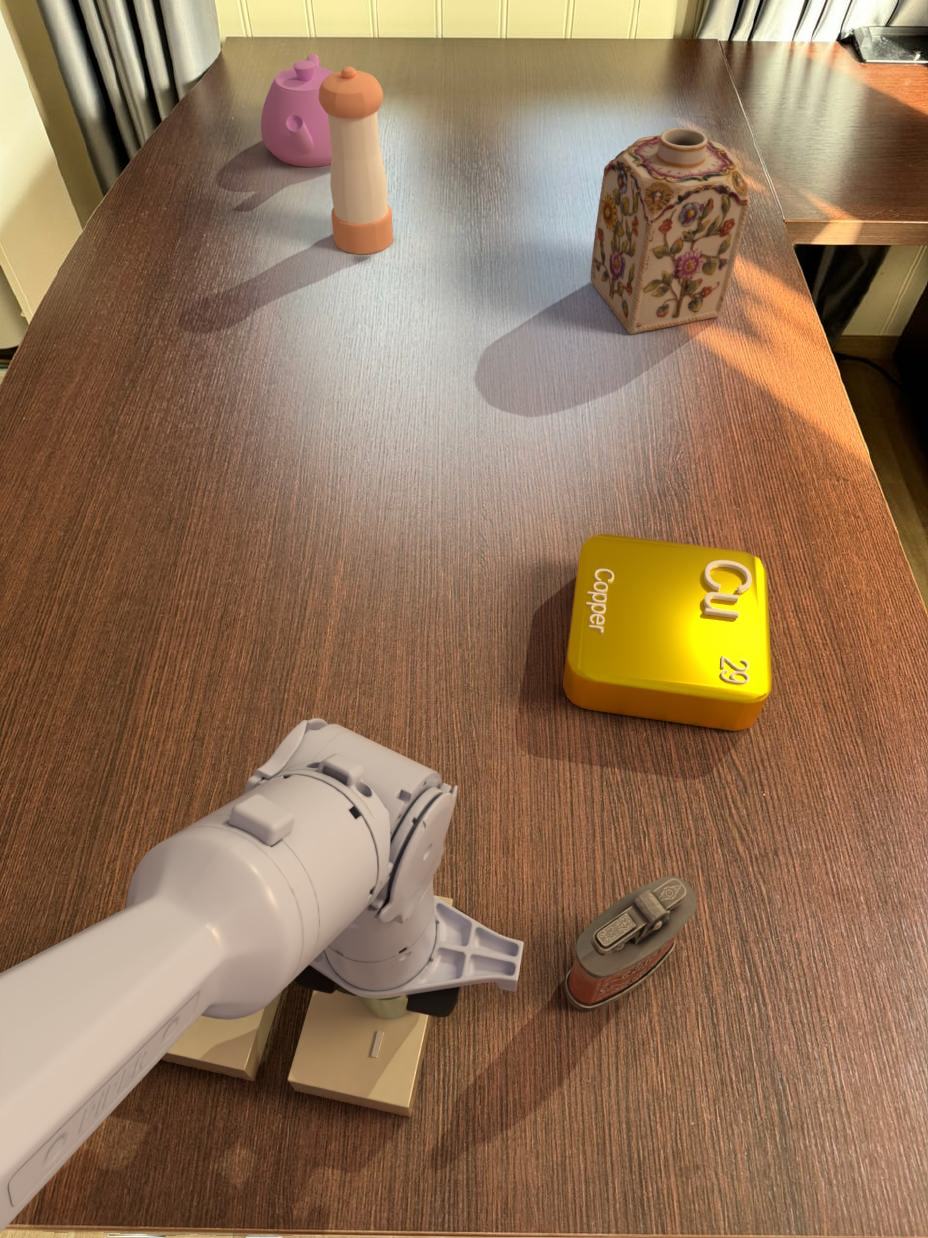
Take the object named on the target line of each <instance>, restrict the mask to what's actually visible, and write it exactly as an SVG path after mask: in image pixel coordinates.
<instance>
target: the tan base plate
mask: <svg viewBox="0 0 928 1238" xmlns="http://www.w3.org/2000/svg"><path fill="white" fill-rule="evenodd" d="M282 992H283V990H282V991H281V992H280V993H279V994H278V995H277V996H276V997H275V998H274V999H273V1000H272V1001H271V1002H270V1003H269V1004H268V1005H267V1006H266V1007H264V1008H263V1009H261V1010H260V1011H258V1012H256V1013H254V1014H252V1015H249V1016H247V1017H243V1018H238V1019H232V1020H225V1019H215V1018H210V1017H205V1016H202V1015H200V1017H199V1018H198V1019H197V1020H196V1021H195V1022H194V1023H193V1024H192V1025H191V1026H190V1027H189V1029H188V1030H187V1031H186V1032H185V1033H184V1034H183V1035H182V1036H181V1037H180V1038H179V1039H178V1041H177V1042H176V1043H175V1044H174V1045H173V1046H172V1047H171V1048H170V1049H169V1050H168V1051H167V1053H166V1054H165V1055H164V1056H163V1057H162V1058H161V1059H160V1060H159V1061H164V1062H168V1063H171V1064H177V1065H182V1066H186V1067H191V1068H195V1069H198V1070H203V1071H208V1072H212V1073H216V1074H221V1075H225V1076H229V1077H233V1078H238V1079H243V1080H247V1081H251V1082H254V1081H255V1079H256V1076H257V1073H258V1070H259V1067H260V1064H261V1060H262V1057H263V1054H264V1051H265V1048H266V1044H267V1042H268V1038H269V1034H270V1032H271V1028H272V1025H273V1021H274V1019H275V1017H276V1016H275V1015H276V1012H277V1009H278V1006H279V1003H280V1001H281V1000H280V999H281V996H282V994H283V993H282Z"/></svg>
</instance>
